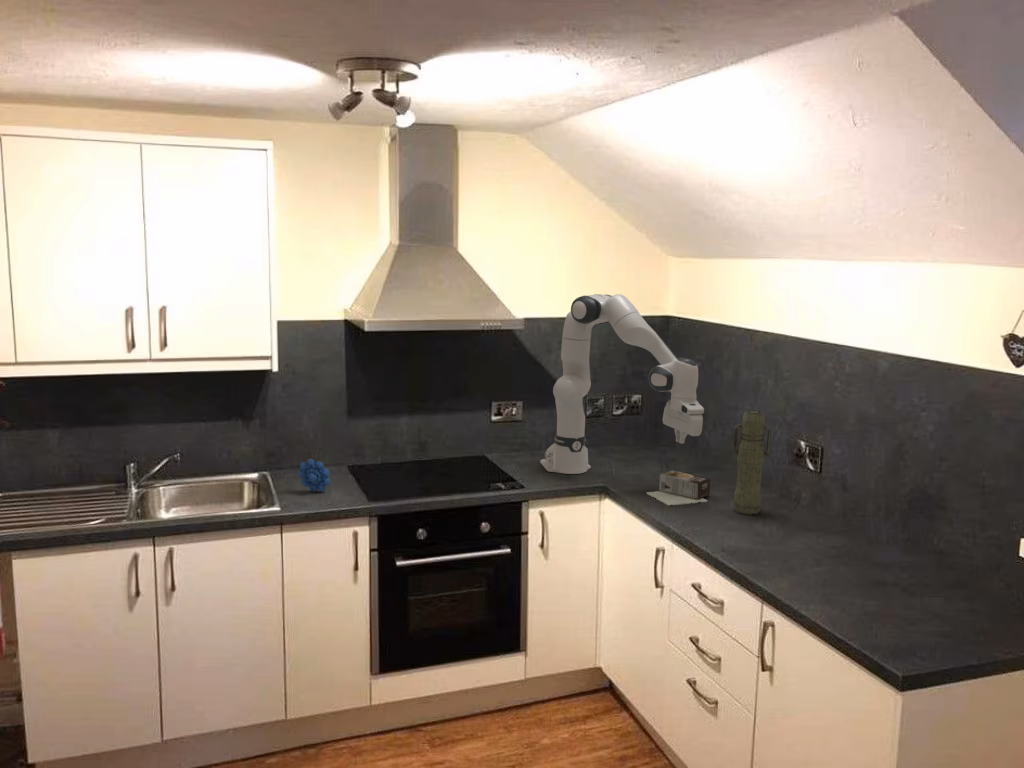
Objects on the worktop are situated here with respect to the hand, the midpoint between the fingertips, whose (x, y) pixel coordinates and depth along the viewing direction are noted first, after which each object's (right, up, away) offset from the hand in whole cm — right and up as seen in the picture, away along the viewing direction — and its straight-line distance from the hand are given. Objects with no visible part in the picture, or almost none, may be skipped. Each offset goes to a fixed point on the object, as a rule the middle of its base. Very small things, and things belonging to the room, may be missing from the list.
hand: (680, 442), depth 307 cm
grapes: (-130, -18, -2) cm, 131 cm away
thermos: (+21, -23, -9) cm, 33 cm away
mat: (0, -20, +4) cm, 21 cm away
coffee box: (-3, -15, +13) cm, 20 cm away
